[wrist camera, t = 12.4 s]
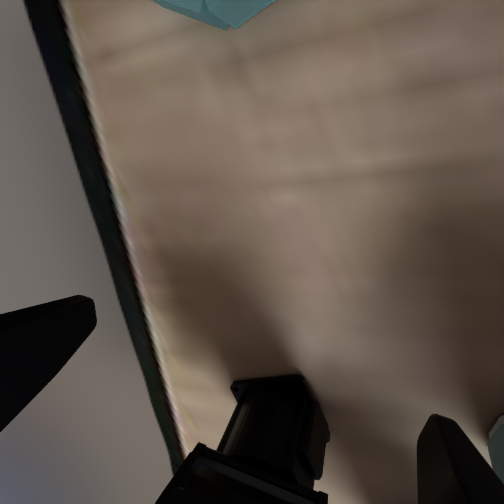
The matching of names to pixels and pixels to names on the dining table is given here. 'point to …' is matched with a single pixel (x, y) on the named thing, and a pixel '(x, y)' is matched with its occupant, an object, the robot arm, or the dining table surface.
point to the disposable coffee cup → (497, 447)
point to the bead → (217, 10)
